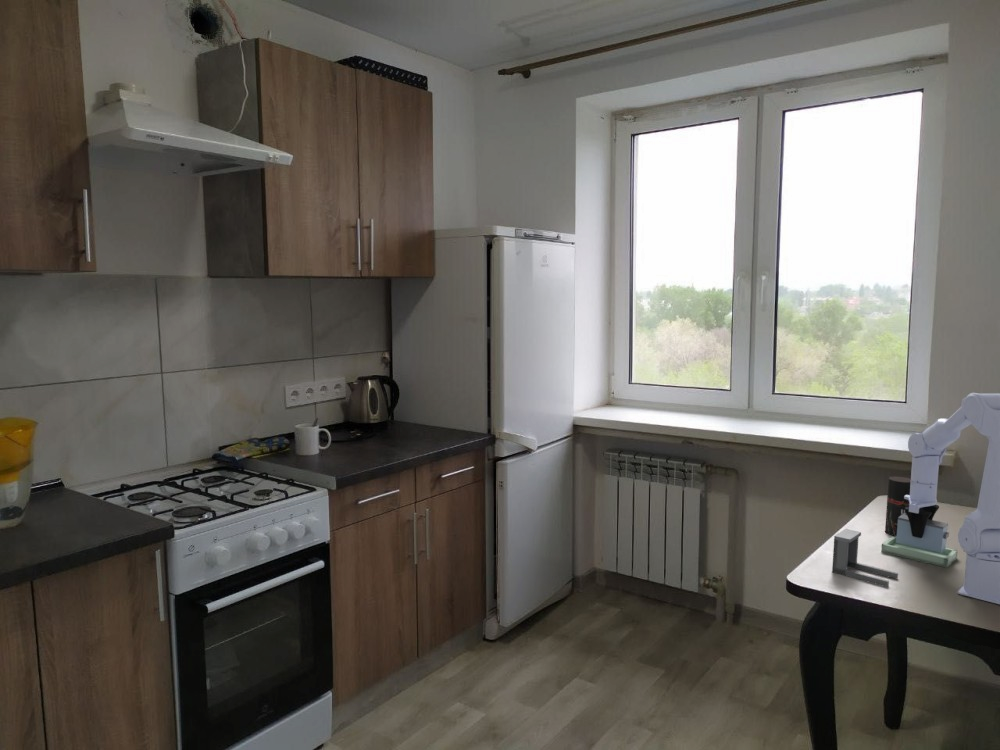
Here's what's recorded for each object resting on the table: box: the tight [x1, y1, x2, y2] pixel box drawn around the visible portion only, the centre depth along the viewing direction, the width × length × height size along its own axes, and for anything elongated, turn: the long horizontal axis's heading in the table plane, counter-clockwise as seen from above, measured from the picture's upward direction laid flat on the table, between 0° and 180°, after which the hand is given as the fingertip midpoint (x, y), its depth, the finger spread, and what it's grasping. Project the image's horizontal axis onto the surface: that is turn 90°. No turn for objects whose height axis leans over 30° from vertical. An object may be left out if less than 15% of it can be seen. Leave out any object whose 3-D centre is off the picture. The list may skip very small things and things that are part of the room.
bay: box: [831, 528, 899, 588], centre depth 168 cm, size 12×7×9 cm, turn 45°
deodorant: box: [884, 476, 911, 537], centre depth 196 cm, size 6×6×15 cm
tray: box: [880, 535, 958, 569], centre depth 181 cm, size 15×9×2 cm, turn 45°
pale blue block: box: [896, 514, 950, 553], centre depth 180 cm, size 11×4×6 cm, turn 45°
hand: (920, 534), depth 180 cm, fingers closed on pale blue block, 4 cm apart
